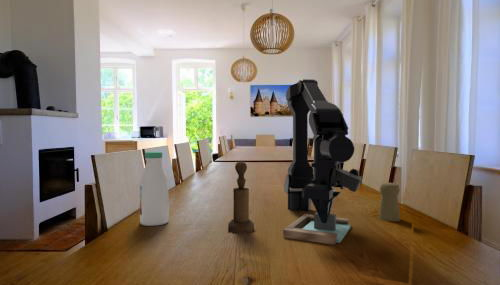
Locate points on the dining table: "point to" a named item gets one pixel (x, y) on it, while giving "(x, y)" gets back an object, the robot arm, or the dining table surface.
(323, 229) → the cover plate
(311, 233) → the wooden tray
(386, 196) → the cork
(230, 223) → the wooden pepper mill
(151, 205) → the milk bottle
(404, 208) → the dining table surface
